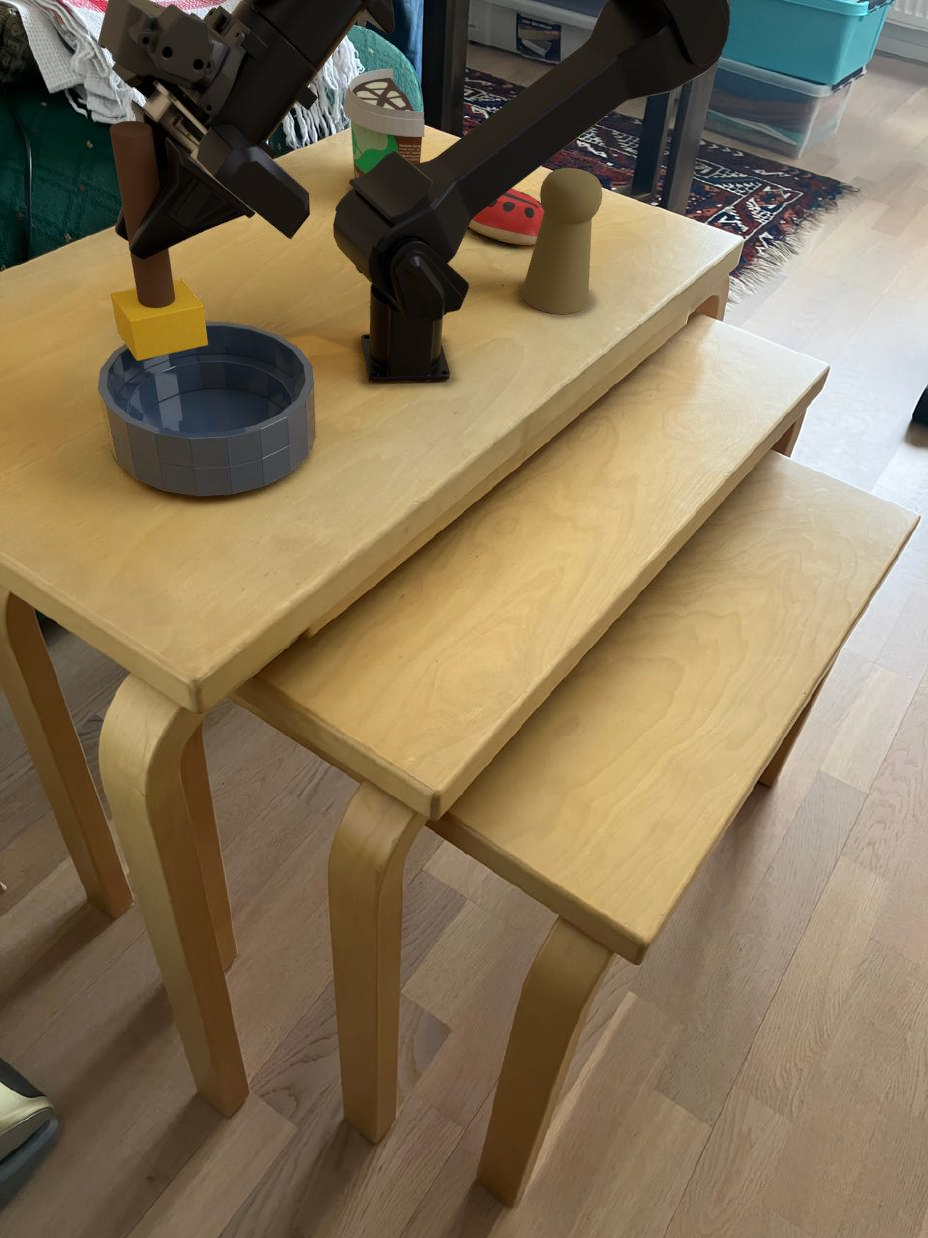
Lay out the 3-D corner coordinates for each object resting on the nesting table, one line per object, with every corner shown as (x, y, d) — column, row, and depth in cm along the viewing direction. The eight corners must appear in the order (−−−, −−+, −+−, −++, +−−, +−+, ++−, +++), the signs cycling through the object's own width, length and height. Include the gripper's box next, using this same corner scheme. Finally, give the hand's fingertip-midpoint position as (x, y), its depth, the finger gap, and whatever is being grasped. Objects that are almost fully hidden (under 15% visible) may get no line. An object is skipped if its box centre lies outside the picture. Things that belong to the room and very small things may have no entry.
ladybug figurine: (479, 205, 104) (482, 170, 101) (565, 233, 101) (571, 198, 99) (446, 228, 100) (448, 192, 97) (535, 258, 97) (540, 222, 94)
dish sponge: (187, 317, 72) (160, 110, 62) (208, 345, 70) (183, 135, 60) (117, 332, 70) (78, 120, 60) (136, 361, 68) (98, 146, 58)
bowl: (322, 500, 70) (320, 433, 66) (105, 510, 67) (90, 441, 63) (308, 383, 79) (306, 319, 75) (118, 388, 77) (105, 322, 73)
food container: (332, 170, 107) (330, 67, 100) (388, 167, 109) (391, 66, 101) (359, 223, 99) (359, 115, 92) (420, 219, 101) (425, 113, 93)
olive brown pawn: (510, 300, 91) (525, 176, 83) (538, 273, 95) (556, 152, 87) (572, 321, 89) (594, 196, 81) (598, 293, 93) (621, 171, 85)
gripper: (120, -111, 60) (-26, 109, 64) (243, -20, 50) (60, 238, 53) (254, 25, 69) (120, 212, 72) (384, 127, 58) (219, 340, 62)
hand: (128, 245), depth 65 cm, fingers closed on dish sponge, 2 cm apart
